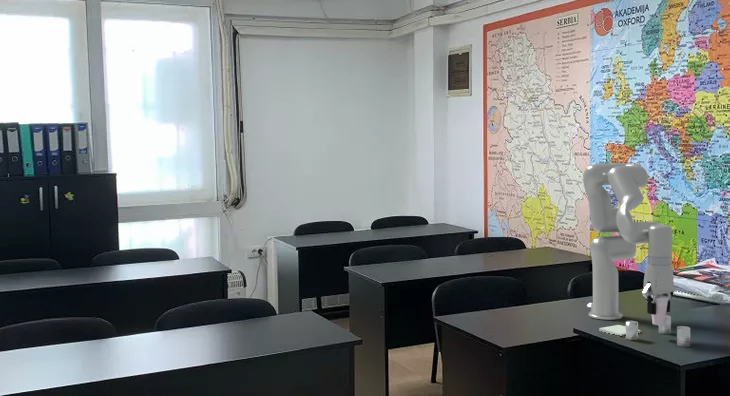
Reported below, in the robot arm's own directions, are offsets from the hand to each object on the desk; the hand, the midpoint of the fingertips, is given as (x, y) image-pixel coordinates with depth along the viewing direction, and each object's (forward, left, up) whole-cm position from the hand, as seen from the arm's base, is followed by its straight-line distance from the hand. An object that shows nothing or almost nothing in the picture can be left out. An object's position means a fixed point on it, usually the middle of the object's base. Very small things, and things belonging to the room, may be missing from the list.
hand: (658, 312), depth 245 cm
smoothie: (0, 0, -4) cm, 4 cm away
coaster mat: (-13, -4, -9) cm, 17 cm away
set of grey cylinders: (+3, 0, -9) cm, 10 cm away
